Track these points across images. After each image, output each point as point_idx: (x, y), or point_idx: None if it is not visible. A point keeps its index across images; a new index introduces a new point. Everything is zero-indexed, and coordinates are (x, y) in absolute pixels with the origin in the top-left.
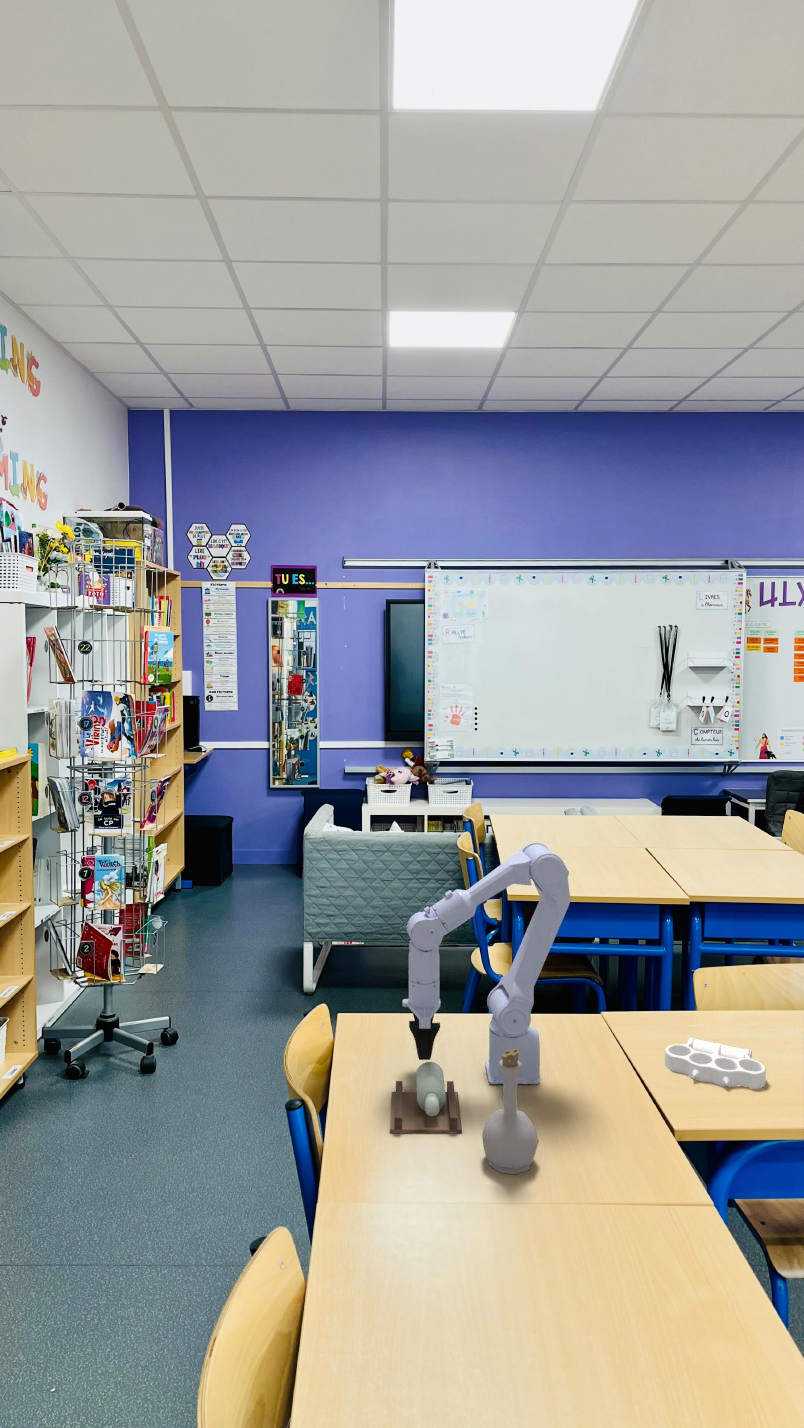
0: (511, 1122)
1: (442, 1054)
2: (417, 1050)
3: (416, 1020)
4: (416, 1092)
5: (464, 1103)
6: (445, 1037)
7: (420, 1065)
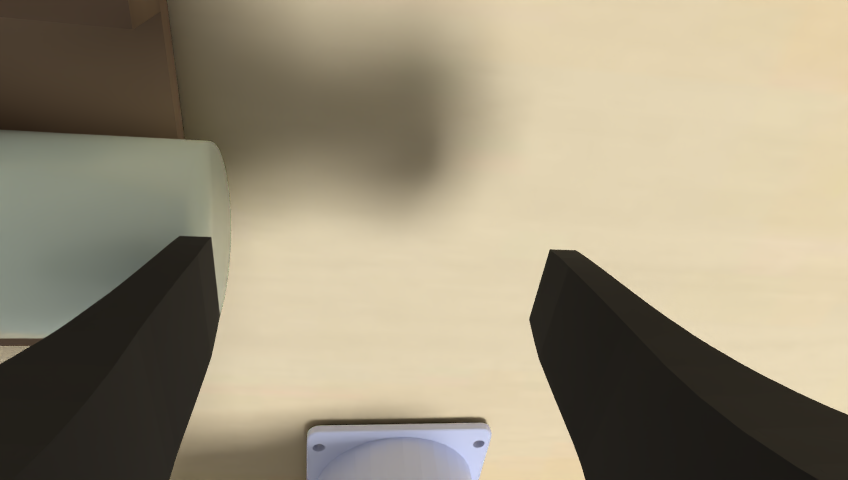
0: None
1: (632, 273)
2: (124, 284)
3: (647, 368)
4: (164, 111)
5: None
6: (792, 296)
7: (181, 221)
